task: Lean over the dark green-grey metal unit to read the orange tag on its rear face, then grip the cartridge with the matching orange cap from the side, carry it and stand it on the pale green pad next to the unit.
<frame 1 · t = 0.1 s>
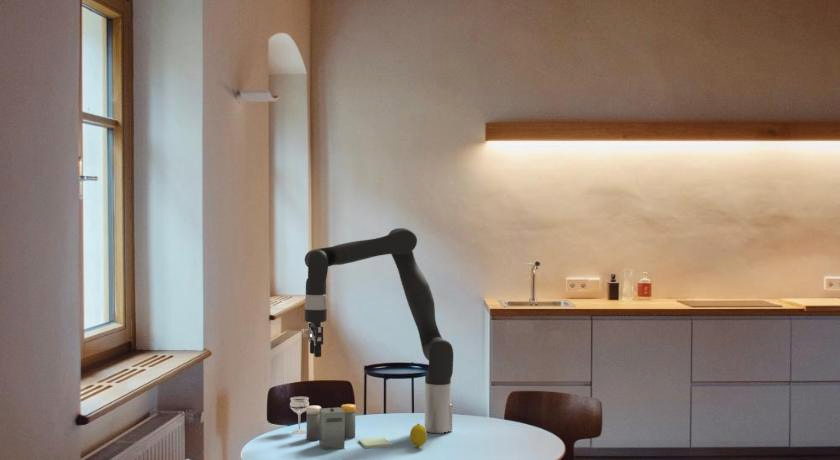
hand: (315, 355, 268), 29 cm above the table, tool pointing down, fingers open, 8 cm apart
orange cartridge: (348, 437, 272), on the table
wineglass: (299, 432, 278), on the table
lemon: (418, 448, 259), on the table
pad: (374, 443, 263), on the table
unit: (331, 446, 260), on the table
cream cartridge: (313, 439, 269), on the table
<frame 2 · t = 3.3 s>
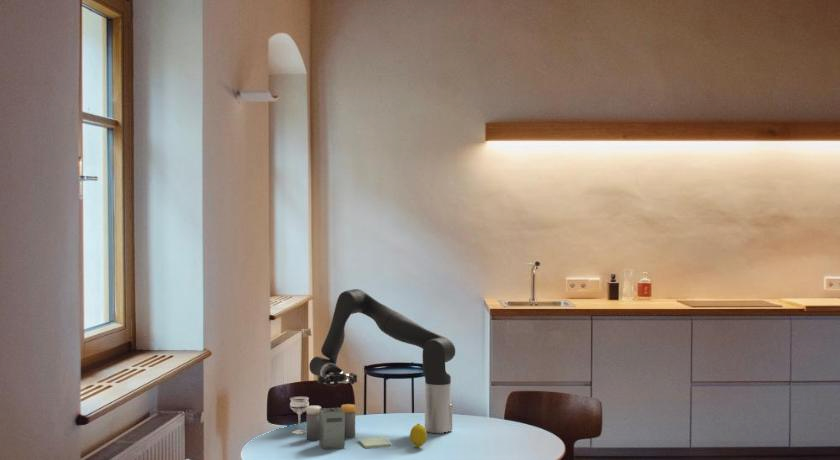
hand: (341, 382, 283), 17 cm above the table, tool horizontal, fingers open, 8 cm apart
nothing on the table moved.
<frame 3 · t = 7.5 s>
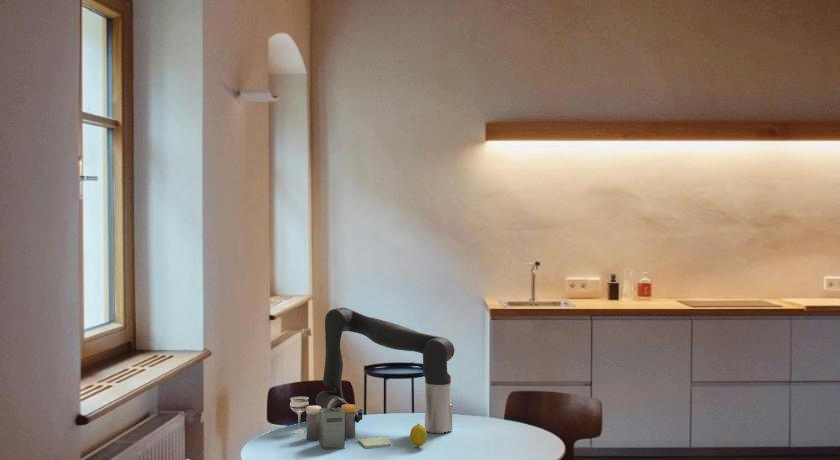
hand: (350, 420, 269), 7 cm above the table, tool horizontal, fingers closed on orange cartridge, 4 cm apart
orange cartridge: (348, 437, 272), on the table, touching gripper
everything else where it was.
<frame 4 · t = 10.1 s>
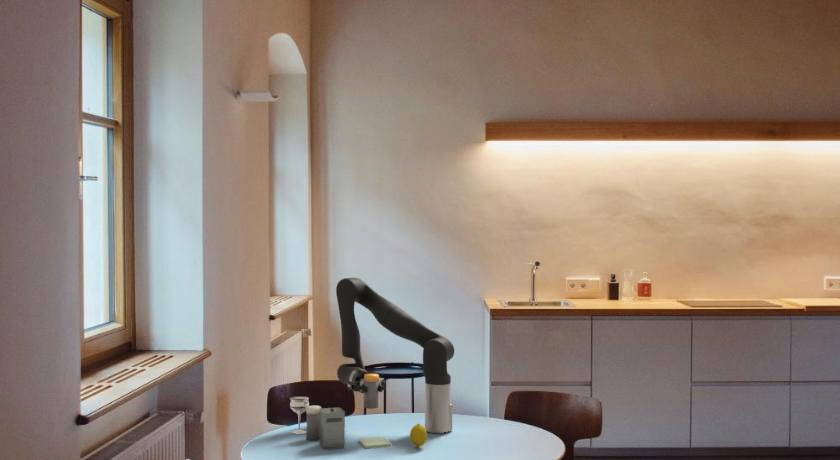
hand: (373, 389, 265), 18 cm above the table, tool horizontal, fingers closed on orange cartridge, 4 cm apart
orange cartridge: (371, 407, 268), point 11 cm above the table, touching gripper
everything else where it was.
when the fingers open (8 cm above the table, at t = 12.8 s): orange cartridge stays where it is, resting on pad.
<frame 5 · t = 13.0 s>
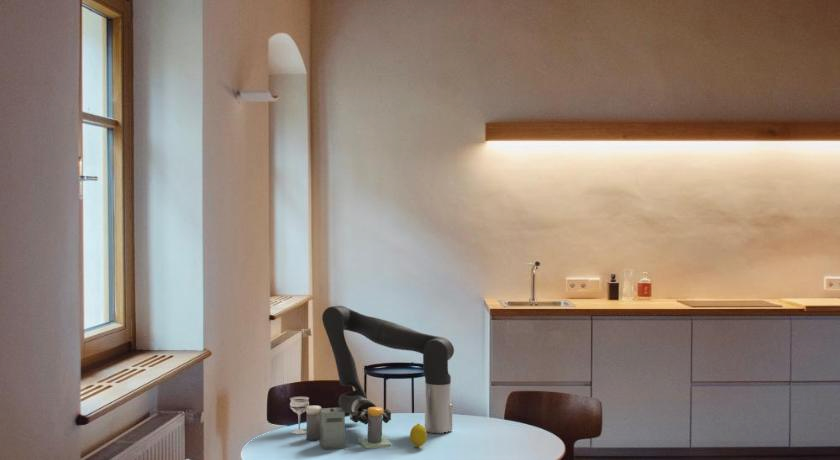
hand: (376, 420, 261), 8 cm above the table, tool horizontal, fingers open, 6 cm apart
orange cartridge: (374, 441, 264), point 1 cm above the table, touching pad
everything else where it was.
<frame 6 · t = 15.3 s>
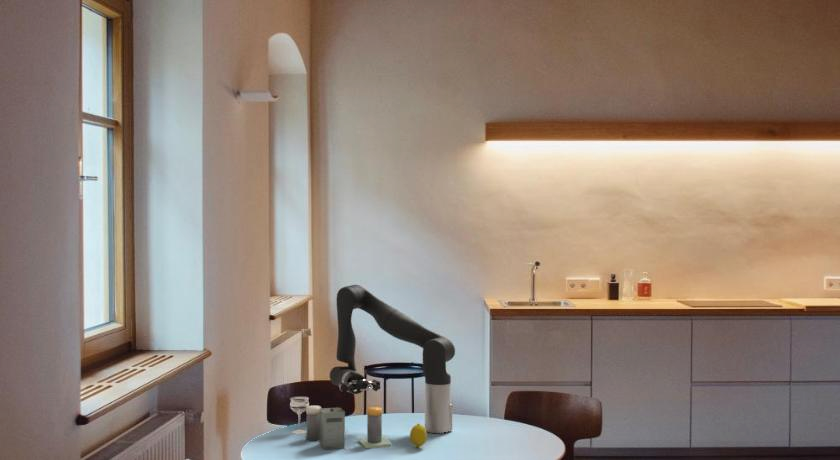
hand: (364, 389, 275), 16 cm above the table, tool horizontal, fingers open, 8 cm apart
nothing on the table moved.
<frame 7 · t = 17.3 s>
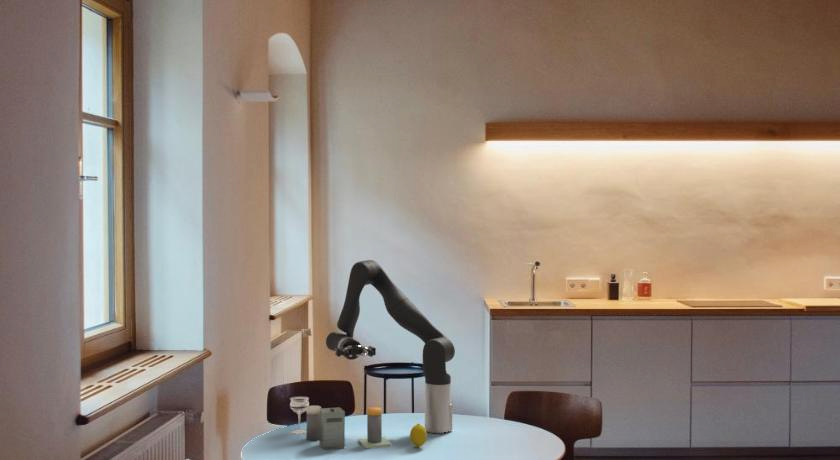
hand: (360, 354, 278), 28 cm above the table, tool horizontal, fingers open, 8 cm apart
nothing on the table moved.
at the end: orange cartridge inside the target area on the pad (0.1 cm from its centre), point 0.9 cm above the pad's base; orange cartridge tilted 2°; the gripper is holding nothing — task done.
